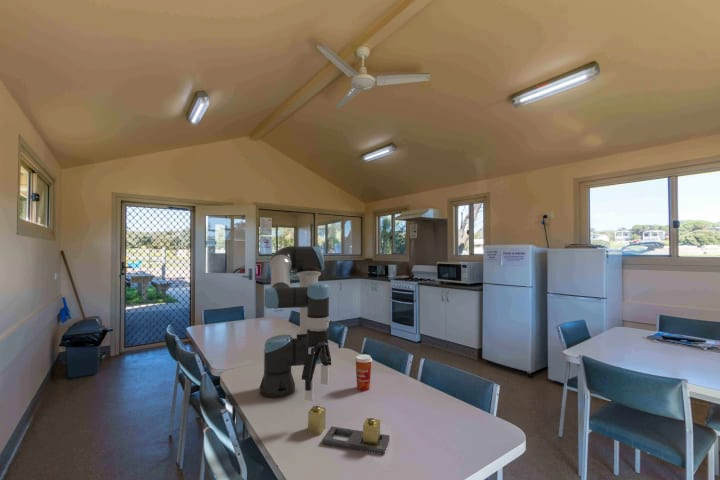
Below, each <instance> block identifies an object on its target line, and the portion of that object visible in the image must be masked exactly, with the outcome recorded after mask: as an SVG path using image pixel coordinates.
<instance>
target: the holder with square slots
mask: <svg viewBox="0 0 720 480" xmlns="http://www.w3.org/2000/svg"><path fill="white" fill-rule="evenodd" d="M336 433H337V434H336ZM335 434H336V435H342V434H343V435H344V436H348V435H350V436H349V438H348V440H342V439H336V438H335V436H336V435H335ZM343 435H342V436H343ZM333 437H334V438H333ZM380 440H381V441H380ZM389 443H390V435H389V434H383V433H382V434H381V419H375V418H374V417H370V418H369V417H367V418H365V420H364V422H363V424H362V430H358V429H351V428H344V427H338V426H331V427H330V428H329V429H328V431H327V433H326V434H325V435H324V437H323V438H322V445H324V446H325V445H326V446H332V447H336V446H338V447H337V448H342V447H343V448H344V449H348V448H350V449H349V450H354V449H355V450H356V451H360V450H362V451H361V452H365V451H368V452H367V453H371V452H373V453H372V454H377V453H381V454H380V455H383V454H385V455H386V452H385V451H387V449H388V446H389ZM343 448H342V449H343ZM386 448H387V449H386ZM355 450H354V451H355ZM374 452H375V453H374Z"/></svg>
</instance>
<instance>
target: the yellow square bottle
mask: <svg viewBox="0 0 720 480" xmlns="http://www.w3.org/2000/svg"><path fill="white" fill-rule="evenodd" d="M326 410H327V409H326V407H322V406H320V405H315V406H314V405H313V406H312V407H311V408H310V409H309V411H308V412H307V414H308V415H307V417H308V418H307V434H311V435H318V436H321V435H323V434H322V433H323V432H324V430H325V429H326V414H327V413H326Z"/></svg>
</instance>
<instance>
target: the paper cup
mask: <svg viewBox="0 0 720 480" xmlns="http://www.w3.org/2000/svg"><path fill="white" fill-rule="evenodd" d="M354 361H355V374H356V389H357V390H358V391H361V392H366V391H367V392H368V391H369V390H370V386H371V376H372V375H371V373H372V372H371V371H372V362H373V358H372V356H371V355H370V354H358V355H357V356H355V359H354Z"/></svg>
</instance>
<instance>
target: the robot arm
mask: <svg viewBox="0 0 720 480" xmlns="http://www.w3.org/2000/svg"><path fill="white" fill-rule="evenodd" d="M323 252H324V251H323V250H322V248H321V247H319V246H313V245H312V246H308V245H307V246H305V245H304V246H303V245H302V246H299V245H298V246H296V245H295V246H291V245H290V246H284V247H283V248H282V247H281V248H280V249H278V250H277V251H276V252H274V253H273V255H272V256H271V258H270V261H269V268H270V270H271V278H270V287H266V288H265V289H264V299H263V300H264V301H263V302H264V307H265V308H266V309H275V310H277V309H291V308H293V309H296V308H297V309H298V308H299V331H298V332H297V333H296V338H295V337H294V338H293V337H292V335H291V334H278V335H275V336H271V337H269V338H268V339H266V340H265V342H264V349H263V353H264V354H263V355H264V356H263V357H264V359H263V362H264V363H263V375H262V378H261V382H260V385H259V391H258V394H259V395H260V396H262V397H263V398H268V399H280V398H284V397H288V396H290V395H292V394H293V393H294V392H295V391H296V383H295V379H294V377H293V373H292V367H297V366H303V369H302V373H301V380H303V381H304V400H307V401H314V398H315V397H314V393H315V392H314V391H315V390H314V387H315V386H314V384H315V382H314V381H315V379H314V374H315V370H316V366H317V365H320V364H322V365H320V385H329V384H330V383H329V379H330V378H329V373H330V372H329V371H330V369H329V367H330V366H332V357H331V356H332V355H331V351H330V347H329V339H330V338H329V337H330V331H329V327H330V326H329V324H330V322H331V320H330V312H329V311H330V285H329V284H327V283H323V282H321V283H319V277H320V276H321V275H322V272H323V271H324V270H325V259H324V253H323ZM290 271H293V272H294V271H296V276H298V277H299V286H291V272H290Z"/></svg>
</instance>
